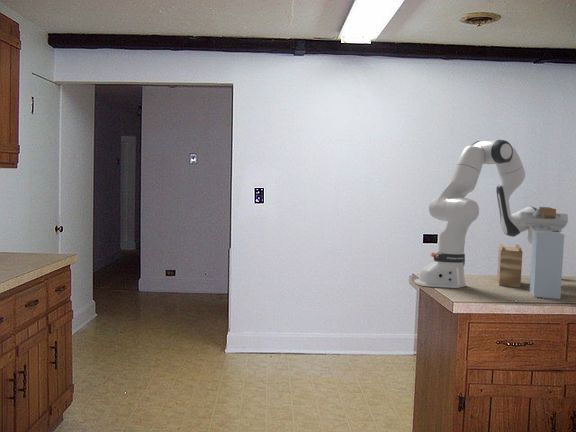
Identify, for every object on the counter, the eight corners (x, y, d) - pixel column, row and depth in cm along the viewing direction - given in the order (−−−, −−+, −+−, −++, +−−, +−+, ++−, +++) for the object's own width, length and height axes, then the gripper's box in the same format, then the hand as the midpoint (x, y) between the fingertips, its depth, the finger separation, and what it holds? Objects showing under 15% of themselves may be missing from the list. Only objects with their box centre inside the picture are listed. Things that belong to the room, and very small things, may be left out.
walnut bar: (555, 218, 246) (556, 209, 245) (545, 218, 247) (545, 208, 246) (548, 216, 265) (549, 207, 265) (538, 215, 266) (539, 206, 266)
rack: (520, 287, 267) (522, 248, 266) (499, 285, 270) (501, 246, 269) (517, 281, 283) (519, 244, 282) (497, 280, 285) (499, 243, 284)
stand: (560, 299, 242) (564, 234, 240) (533, 296, 245) (537, 233, 243) (554, 292, 257) (558, 231, 256) (529, 290, 260) (533, 230, 259)
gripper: (516, 217, 278) (519, 203, 266) (564, 220, 272) (570, 205, 260) (516, 230, 275) (519, 216, 263) (564, 232, 269) (570, 218, 258)
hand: (545, 211), depth 262 cm, fingers closed on walnut bar, 4 cm apart
